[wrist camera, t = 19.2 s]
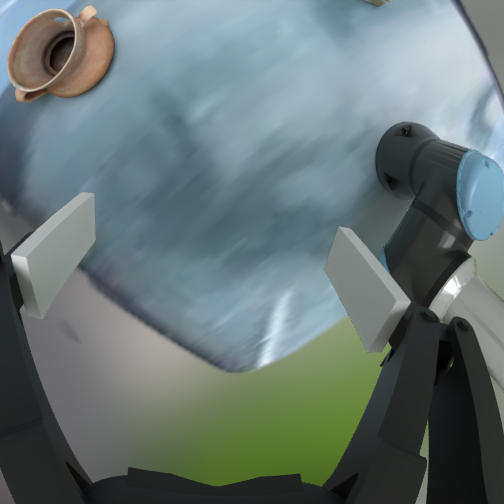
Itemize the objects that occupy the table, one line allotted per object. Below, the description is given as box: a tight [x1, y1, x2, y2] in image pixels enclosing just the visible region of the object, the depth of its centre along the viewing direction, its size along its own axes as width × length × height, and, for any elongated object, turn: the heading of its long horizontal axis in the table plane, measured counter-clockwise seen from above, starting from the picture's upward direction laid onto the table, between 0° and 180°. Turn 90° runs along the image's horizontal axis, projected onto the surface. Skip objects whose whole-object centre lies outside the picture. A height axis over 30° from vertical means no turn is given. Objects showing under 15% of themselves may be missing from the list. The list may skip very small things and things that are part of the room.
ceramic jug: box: [7, 5, 114, 102], centre depth 28 cm, size 18×14×14 cm
